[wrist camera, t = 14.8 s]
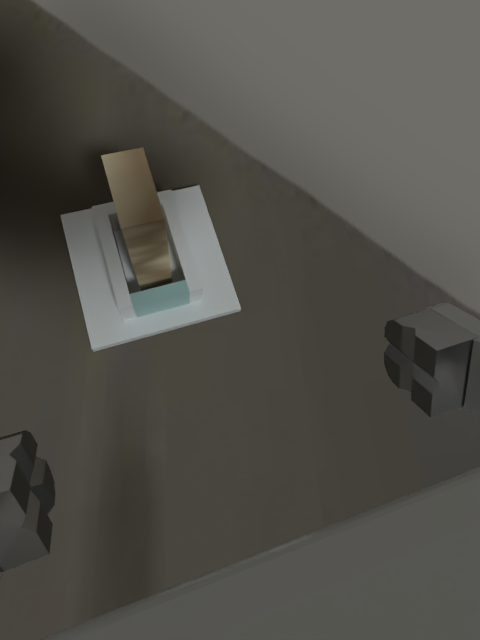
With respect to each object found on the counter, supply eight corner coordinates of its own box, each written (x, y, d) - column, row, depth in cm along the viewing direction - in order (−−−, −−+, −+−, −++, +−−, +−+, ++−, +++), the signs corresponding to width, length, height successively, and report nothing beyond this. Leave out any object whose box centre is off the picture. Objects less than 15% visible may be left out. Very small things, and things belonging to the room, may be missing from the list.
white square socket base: (93, 351, 39) (83, 340, 35) (62, 219, 42) (50, 197, 39) (240, 311, 41) (244, 297, 38) (199, 189, 45) (199, 166, 41)
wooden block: (141, 293, 40) (121, 228, 29) (126, 237, 42) (100, 155, 30) (172, 285, 41) (164, 218, 29) (156, 230, 42) (142, 147, 31)
